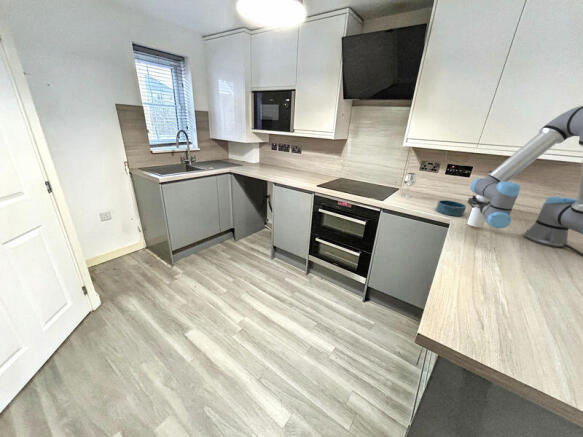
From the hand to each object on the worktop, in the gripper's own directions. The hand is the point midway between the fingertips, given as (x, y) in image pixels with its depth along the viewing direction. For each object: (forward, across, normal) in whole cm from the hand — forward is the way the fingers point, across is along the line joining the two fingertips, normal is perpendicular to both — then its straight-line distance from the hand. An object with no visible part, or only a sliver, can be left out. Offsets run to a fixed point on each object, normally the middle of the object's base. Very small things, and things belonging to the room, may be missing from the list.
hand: (481, 198), depth 131 cm
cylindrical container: (-5, 0, -14) cm, 15 cm away
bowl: (+17, -10, -16) cm, 25 cm away
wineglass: (+42, -38, -16) cm, 59 cm away
